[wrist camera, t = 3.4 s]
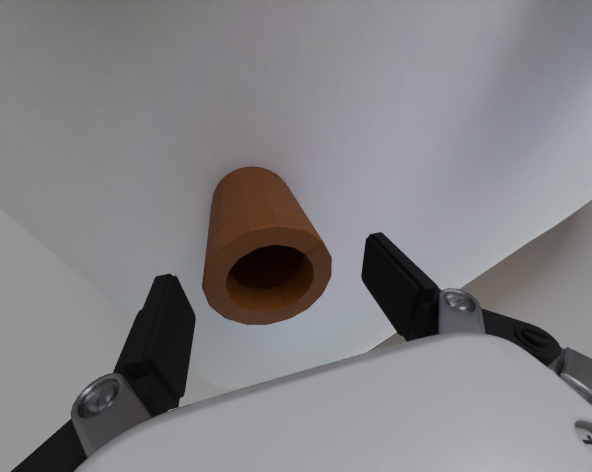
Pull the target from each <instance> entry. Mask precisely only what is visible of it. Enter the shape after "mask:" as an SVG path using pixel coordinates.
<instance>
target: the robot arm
mask: <svg viewBox="0 0 592 472" xmlns="http://www.w3.org/2000/svg"><path fill="white" fill-rule="evenodd" d="M361 277H362V281H363V283H364V284H365V286H366V287H367V289H368V290H369V292H370V293H371V294H372V296H373V297H374V299H375V300H376V302H377V303H378V305H379V306H380V308H381V309H382V311H383V312H384V314H385V315H386V316H387V318H388V319H389V321H390V322H391V324H392V325H393V327H394V328H395V330H396V331H397V333H398V334H399V335H401V336H403V337H404V338H405V340H406V341H407V342H404V343H401V344H397V345H393V346H390V347H386V348H382V349H379V350H375V351H372V352H368V353H364V354H361V355H357V356H354V357H350V358H347V359H343V360H339V361H336V362H332V363H329V364H325V365H322V366H318V367H315V368H311V369H308V370H304V371H301V372H297V373H294V374H290V375H287V376H283V377H280V378H276V379H273V380H270V381H266V382H263V383H259V384H256V385H252V386H249V387H246V388H242V389H239V390H235V391H232V392H229V393H225V394H221V395H218V396H215V397H212V398H208V399H205V400H202V401H199V402H196V403H192V404H189V405H186V406H183V407H179V408H177V407H178V406H179V400H180V398H181V397H183V396H184V393H185V386H186V381H187V374H188V367H189V361H190V354H191V348H192V341H193V334H194V328H195V321H196V318H195V313H194V311H193V309H192V307H191V305H190V303H189V301H188V299H187V297H186V295H185V293H184V290H183V288H182V286H181V284H180V282H179V280H178V278H177V277H176V276H172V275H171V274H166V275H161V276H156V277H155V279H154V282H153V284H152V287H151V289H150V292H149V294H148V297H147V299H146V302H145V304H144V307H143V309H142V310H140V311H139V312H138V314H137V316H136V318H135V321H134V323H133V326H132V328H131V330H130V333H129V335H128V338H127V340H126V342H125V345H124V347H123V350H122V352H121V354H120V357H119V359H118V362H117V364H116V367H115V369H114V372H113V373H111V374H107V375H104V376H102V377H100V378H98V379H96V380H95V381H93V382H92V383H91V384H90V385H88V386H87V387H86V388H85V389H84V390H83V391H82V393H81V394H80V395H79V396H78V397H77V399H76V401H75V402H74V404H73V407H72V410H71V419H70V420H69V421H68V422H67V423H66V424H65V425H63V426H62V427H61V428H60V429H59V430H58V431H57V432H56V433H54V434H53V435H52V436H51V437H50V438H49V439H48V440H47V441H45V442H44V443H43V444H42V445H41V446H40V447H38V448H37V449H36V450H35V451H34V452H33V453H32V454H30V455H29V456H28V457H27V458H26V459H25V460H24V461H23V462H21V463H20V464H19V465H18V466H17V467H16V468H14V469H13V470H12V471H11V472H592V359H591V358H589V357H587V356H585V355H582V354H581V353H579V352H577V351H575V350H572V349H570V348H568V347H567V348H566V349H563V348H561V347H560V346H559V343H558V342H557V341H556V340H555V339H554V338H553V337H552V336H551V335H550V334H548V333H547V332H546V331H544V330H542V329H541V328H539V327H536V326H534V325H532V324H529V323H525V322H522V321H519V320H516V319H513V318H510V317H507V316H504V315H500V314H497V313H494V312H491V311H488V310H485V309H482V308H481V306H480V304H479V302H478V301H477V300H476V299H475V298H474V297H473V296H472V295H470V294H468V293H467V292H465V291H462V290H459V289H454V288H447V289H444V290H442V291H441V290H440V289H439V288H438V286H437V285H436V284H435V283H434V282H433V281H432V280H431V279H430V278H429V277H428V276H427V275H426V274H425V273H424V272H423V271H422V270H421V269H420V268H419V267H417V266H416V265H415V264H414V263H413V262H412V261H411V260H410V259H409V258H408V257H407V256H406V255H405V254H404V253H403V252H402V251H401V250H400V249H399V248H398V247H397V246H395V245H394V244H393V243H392V242H391V241H390V240H389V239H388V238H387V237H386V236H385V235H384V234H383V233H381V232H379V233H374V234H370V235H369V237H368V238H366V243H365V251H364V259H363V267H362V275H361ZM415 339H416V340H415ZM174 408H177V409H174ZM170 409H174V410H171V411H168V410H170ZM167 411H168V412H167Z"/></svg>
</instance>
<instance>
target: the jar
mask: <svg viewBox="0 0 592 472" xmlns="http://www.w3.org/2000/svg"><path fill="white" fill-rule="evenodd" d="M331 263H332V258H331V256H330V254H329V252H328V250H327V248H326V246H325V244H324V242H323V241H322V239H321V238H320V236H319V235H318V233H317V231H316V230H315V228H314V227H313V225H312V224H311V222H310V221H309V219H308V217H307V216H306V214H305V213H304V211H303V210H302V208H301V207H300V205H299V203H298V202H297V200H296V199H295V197H294V196H293V194H292V192H291V191H290V189H289V188H288V186H287V185H286V183H285V182H284V181H283V180H282V179H281V178H280V177H279V176H278V175H276V174H275V173H273V172H272V171H269V170H267V169H264V168H260V167H245V168H240V169H237V170H235V171H233V172H231V173H229V174H228V175H226V176H225V177H224V178H223V179H222V180H221V181H220V183H219V184H218V185H217V187H216V189H215V192H214V194H213V200H212V206H211V214H210V223H209V231H208V240H207V248H206V257H205V265H204V274H203V282H202V289H203V291H204V294H205V296H206V298H207V301H208V303H209V305H210V306H211V307H212V308H213V309H214V310H215V311H217V312H218V313H219V314H220V315H222V316H223V317H224V318H227V319H229V320H233V321H236V322H239V323H243V324H246V325H267V324H271V323H275V322H279V321H283V320H287V319H289V318H292V317H294V316H296V315H297V314H299V313H301V312H303V311H305V310H306V309H308V308H309V307H310V306H311V305H312V304H313V303H314V302H315V301H316V300H317V299H318V298H319V297H320V296H321V295H322V293H323V292H324V290H325V288H326V286H327V284H328V282H329V280H330V278H331Z"/></svg>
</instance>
